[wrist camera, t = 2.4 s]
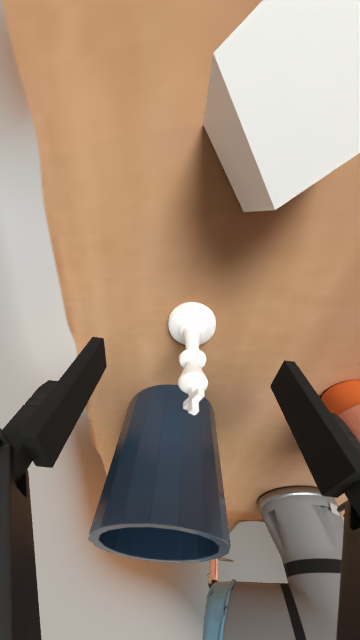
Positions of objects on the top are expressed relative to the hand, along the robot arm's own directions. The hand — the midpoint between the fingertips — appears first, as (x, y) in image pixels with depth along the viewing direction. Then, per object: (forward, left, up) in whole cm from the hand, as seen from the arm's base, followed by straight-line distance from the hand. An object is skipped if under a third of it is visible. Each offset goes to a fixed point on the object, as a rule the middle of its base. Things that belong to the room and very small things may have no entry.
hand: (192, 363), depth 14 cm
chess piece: (0, 0, -7) cm, 7 cm away
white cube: (+10, -11, -7) cm, 16 cm away
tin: (-12, +10, -6) cm, 17 cm away
